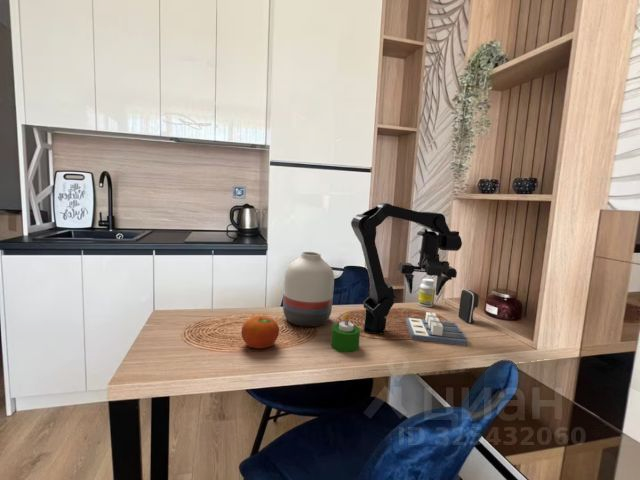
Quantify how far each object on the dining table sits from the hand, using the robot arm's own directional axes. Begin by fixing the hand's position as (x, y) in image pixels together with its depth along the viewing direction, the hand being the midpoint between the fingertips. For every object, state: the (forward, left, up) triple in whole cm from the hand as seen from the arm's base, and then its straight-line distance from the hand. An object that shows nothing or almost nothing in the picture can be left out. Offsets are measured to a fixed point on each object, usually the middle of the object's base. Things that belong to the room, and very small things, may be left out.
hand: (423, 294), depth 122 cm
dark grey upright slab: (+20, +13, -12) cm, 27 cm away
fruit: (-49, -28, -12) cm, 58 cm away
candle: (-25, -22, -12) cm, 36 cm away
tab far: (+4, +2, -10) cm, 11 cm away
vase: (-39, -5, -12) cm, 41 cm away
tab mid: (+4, -3, -10) cm, 11 cm away
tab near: (+4, -8, -10) cm, 14 cm away
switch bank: (+4, -3, -12) cm, 13 cm away
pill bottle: (+7, +27, -12) cm, 31 cm away
